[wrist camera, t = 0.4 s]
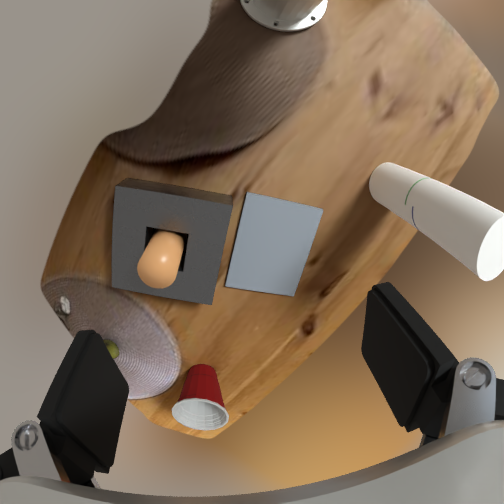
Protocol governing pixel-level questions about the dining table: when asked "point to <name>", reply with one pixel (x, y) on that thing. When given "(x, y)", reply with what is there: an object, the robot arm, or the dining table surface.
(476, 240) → the cylindrical container
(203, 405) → the plastic cup
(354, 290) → the dining table surface
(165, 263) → the orange rounded cylinder
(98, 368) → the robot arm
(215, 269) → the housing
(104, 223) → the dining table surface
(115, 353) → the lime
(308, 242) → the mat
